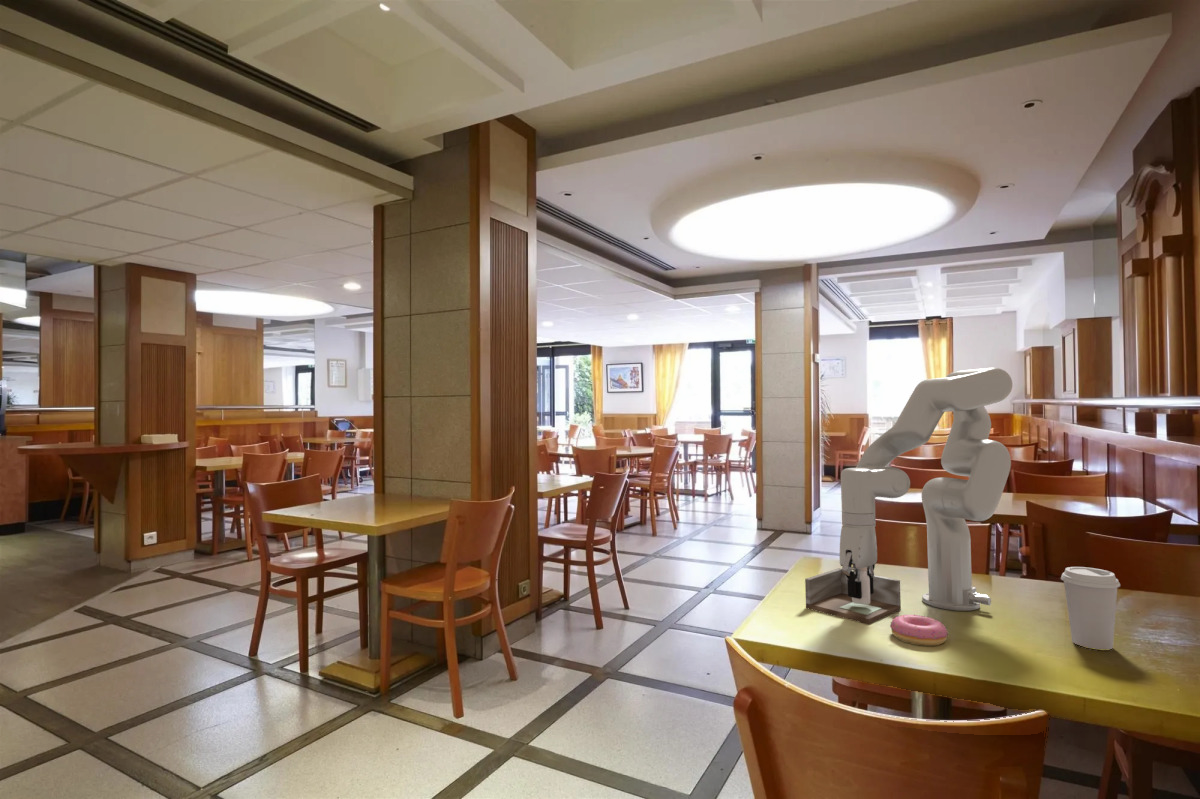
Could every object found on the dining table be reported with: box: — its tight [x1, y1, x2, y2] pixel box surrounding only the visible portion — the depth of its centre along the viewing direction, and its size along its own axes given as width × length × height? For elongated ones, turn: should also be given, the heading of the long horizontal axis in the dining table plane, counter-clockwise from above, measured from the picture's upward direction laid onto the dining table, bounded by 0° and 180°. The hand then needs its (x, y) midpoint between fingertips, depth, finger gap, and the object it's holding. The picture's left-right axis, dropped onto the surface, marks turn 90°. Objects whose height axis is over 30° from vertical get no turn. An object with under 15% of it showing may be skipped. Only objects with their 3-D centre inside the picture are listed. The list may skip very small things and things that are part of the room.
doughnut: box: [889, 614, 949, 647], centre depth 130 cm, size 11×11×4 cm
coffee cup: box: [1060, 566, 1121, 650], centre depth 125 cm, size 10×10×15 cm
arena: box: [804, 568, 902, 625], centre depth 150 cm, size 16×16×7 cm
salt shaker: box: [852, 565, 870, 605], centre depth 147 cm, size 4×4×10 cm
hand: (860, 594), depth 146 cm, fingers closed on salt shaker, 4 cm apart
